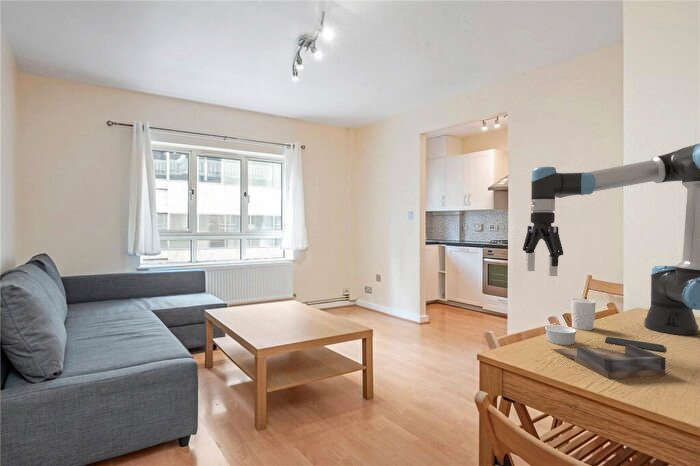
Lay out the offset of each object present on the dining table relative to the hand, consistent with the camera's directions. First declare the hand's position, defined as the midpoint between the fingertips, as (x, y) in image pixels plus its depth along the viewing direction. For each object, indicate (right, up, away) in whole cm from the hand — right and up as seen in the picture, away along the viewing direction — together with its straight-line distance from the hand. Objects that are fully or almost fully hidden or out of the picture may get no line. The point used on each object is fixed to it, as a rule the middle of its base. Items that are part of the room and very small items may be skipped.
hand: (541, 273), depth 136 cm
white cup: (+18, -21, +6) cm, 28 cm away
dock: (+4, -23, -28) cm, 36 cm away
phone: (+23, -22, -13) cm, 34 cm away
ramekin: (+1, -21, -10) cm, 24 cm away
